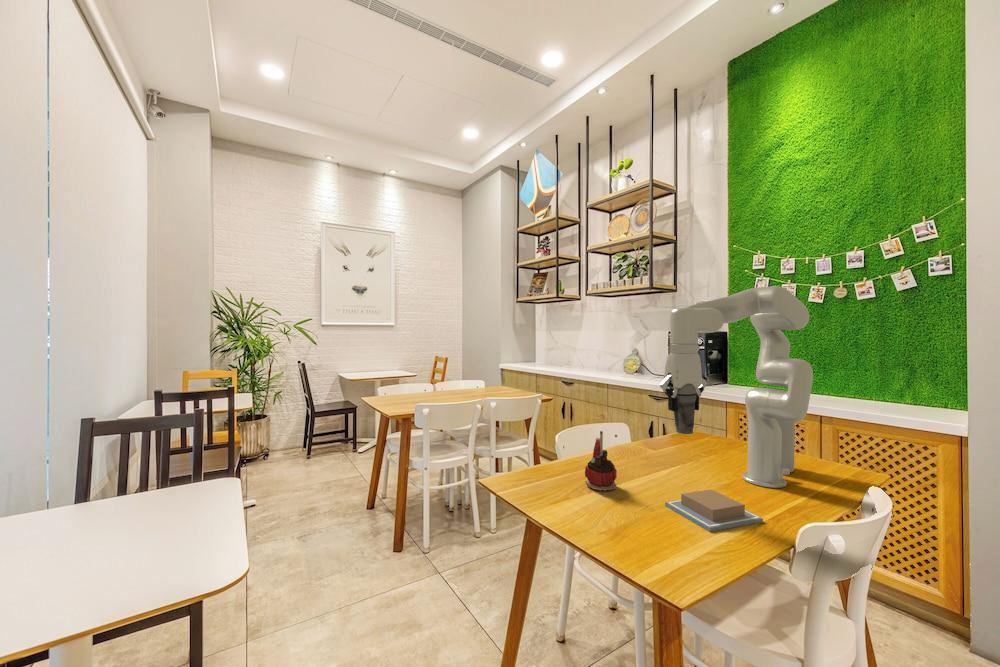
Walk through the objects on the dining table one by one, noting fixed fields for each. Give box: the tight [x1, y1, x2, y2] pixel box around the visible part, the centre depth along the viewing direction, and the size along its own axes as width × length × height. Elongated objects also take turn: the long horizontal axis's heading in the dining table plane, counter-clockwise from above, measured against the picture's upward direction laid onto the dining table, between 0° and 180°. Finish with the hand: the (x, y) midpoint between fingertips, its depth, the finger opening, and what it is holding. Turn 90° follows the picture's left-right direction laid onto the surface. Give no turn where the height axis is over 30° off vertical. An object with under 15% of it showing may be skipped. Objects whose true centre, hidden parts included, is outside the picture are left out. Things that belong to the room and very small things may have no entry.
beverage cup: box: [672, 383, 697, 435], centre depth 119 cm, size 7×7×20 cm
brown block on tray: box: [664, 489, 764, 533], centre depth 112 cm, size 18×16×4 cm
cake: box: [584, 430, 618, 491], centre depth 131 cm, size 11×9×18 cm
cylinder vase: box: [775, 418, 796, 473], centre depth 150 cm, size 12×12×25 cm
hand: (683, 409), depth 119 cm, fingers closed on beverage cup, 6 cm apart
